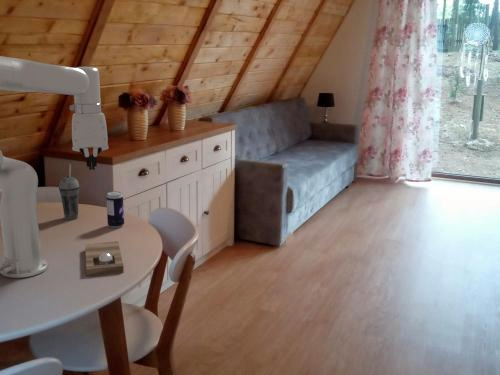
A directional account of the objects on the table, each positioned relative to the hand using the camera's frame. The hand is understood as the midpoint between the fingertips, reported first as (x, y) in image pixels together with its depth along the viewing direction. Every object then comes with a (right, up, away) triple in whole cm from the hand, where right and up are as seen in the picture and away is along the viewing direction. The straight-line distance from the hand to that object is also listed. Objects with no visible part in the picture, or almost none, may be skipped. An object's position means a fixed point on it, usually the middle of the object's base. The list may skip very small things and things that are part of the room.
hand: (91, 168), depth 169 cm
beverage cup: (-17, -17, +33) cm, 41 cm away
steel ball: (+7, -27, -10) cm, 29 cm away
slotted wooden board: (+5, -28, -5) cm, 28 cm away
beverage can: (+1, -20, +25) cm, 32 cm away
